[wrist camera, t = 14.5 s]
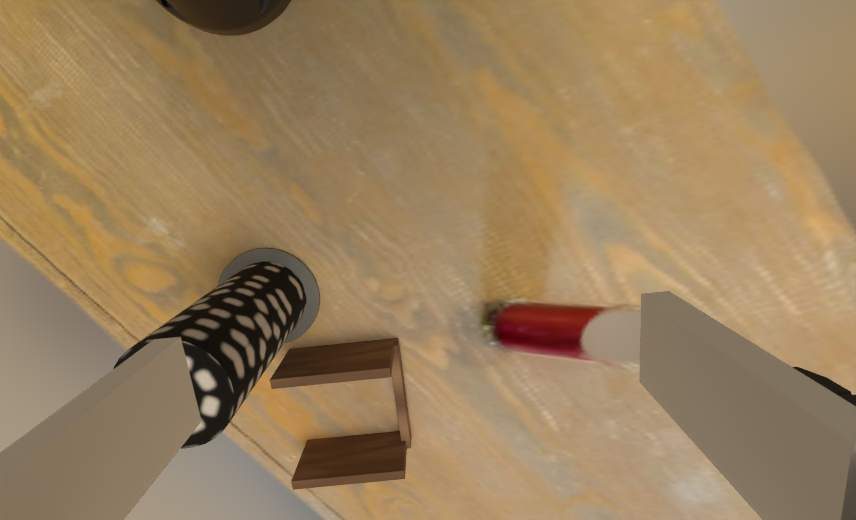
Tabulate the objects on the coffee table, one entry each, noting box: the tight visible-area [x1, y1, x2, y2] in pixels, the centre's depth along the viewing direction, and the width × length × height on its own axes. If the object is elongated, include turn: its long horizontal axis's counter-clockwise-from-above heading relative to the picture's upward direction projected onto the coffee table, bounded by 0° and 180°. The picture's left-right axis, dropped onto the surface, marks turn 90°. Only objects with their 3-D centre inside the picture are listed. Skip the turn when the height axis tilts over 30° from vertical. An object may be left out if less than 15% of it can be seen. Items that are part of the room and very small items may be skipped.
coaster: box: [218, 248, 320, 343], centre depth 51 cm, size 11×11×1 cm
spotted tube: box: [114, 261, 306, 448], centre depth 41 cm, size 8×8×20 cm
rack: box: [270, 338, 411, 489], centre depth 51 cm, size 13×12×7 cm
